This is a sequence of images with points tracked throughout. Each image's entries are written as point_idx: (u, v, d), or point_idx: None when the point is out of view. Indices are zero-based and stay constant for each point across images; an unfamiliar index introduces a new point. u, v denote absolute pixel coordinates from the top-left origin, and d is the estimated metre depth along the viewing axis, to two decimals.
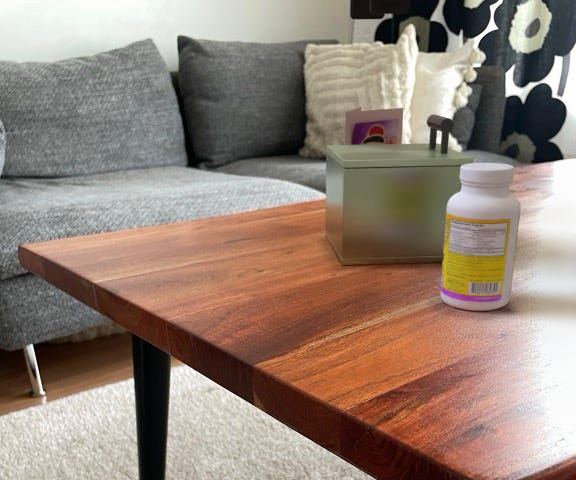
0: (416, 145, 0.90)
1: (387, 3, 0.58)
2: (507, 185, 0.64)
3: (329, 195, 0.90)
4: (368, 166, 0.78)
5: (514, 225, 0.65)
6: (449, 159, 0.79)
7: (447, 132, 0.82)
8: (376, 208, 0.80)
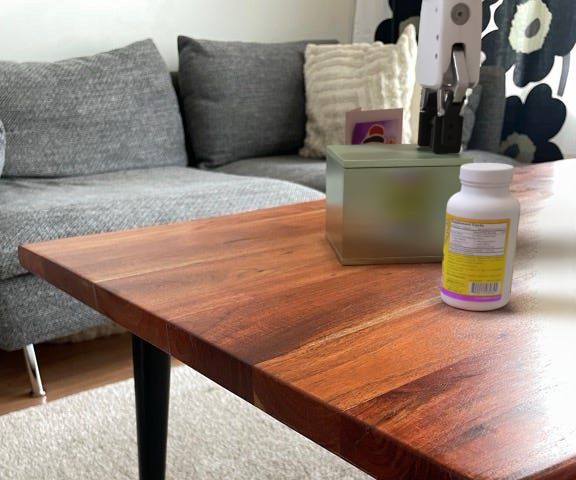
0: (416, 145, 0.90)
1: (445, 146, 0.82)
2: (507, 185, 0.64)
3: (329, 195, 0.90)
4: (368, 166, 0.78)
5: (514, 225, 0.65)
6: (449, 159, 0.79)
7: None
8: (376, 208, 0.80)
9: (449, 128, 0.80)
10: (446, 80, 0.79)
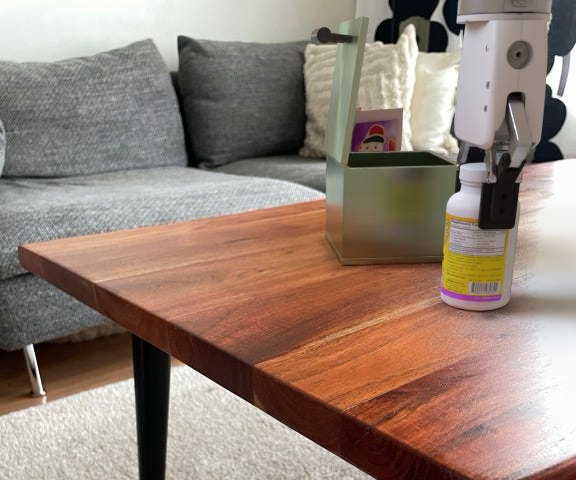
0: (338, 52, 0.85)
1: (494, 221, 0.63)
2: None
3: (329, 195, 0.90)
4: (350, 138, 0.77)
5: None
6: (358, 46, 0.73)
7: (331, 35, 0.77)
8: (376, 208, 0.80)
9: (501, 198, 0.62)
10: (497, 138, 0.61)
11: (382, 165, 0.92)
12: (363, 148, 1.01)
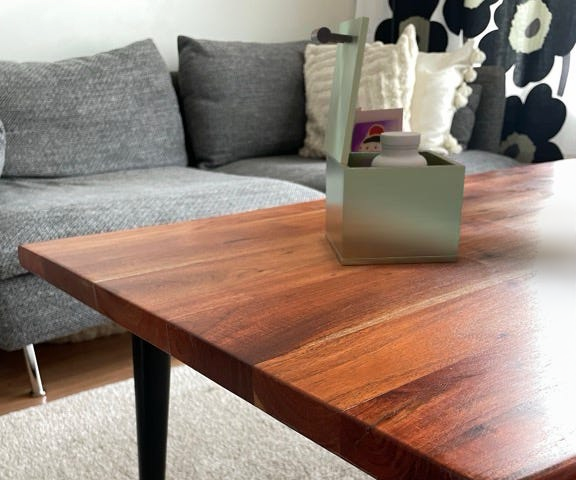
0: (338, 52, 0.85)
1: None
2: (415, 148, 0.84)
3: (329, 195, 0.90)
4: (350, 138, 0.77)
5: None
6: (358, 46, 0.73)
7: (331, 35, 0.77)
8: (376, 208, 0.80)
9: None
10: None
11: None
12: (363, 148, 1.01)
